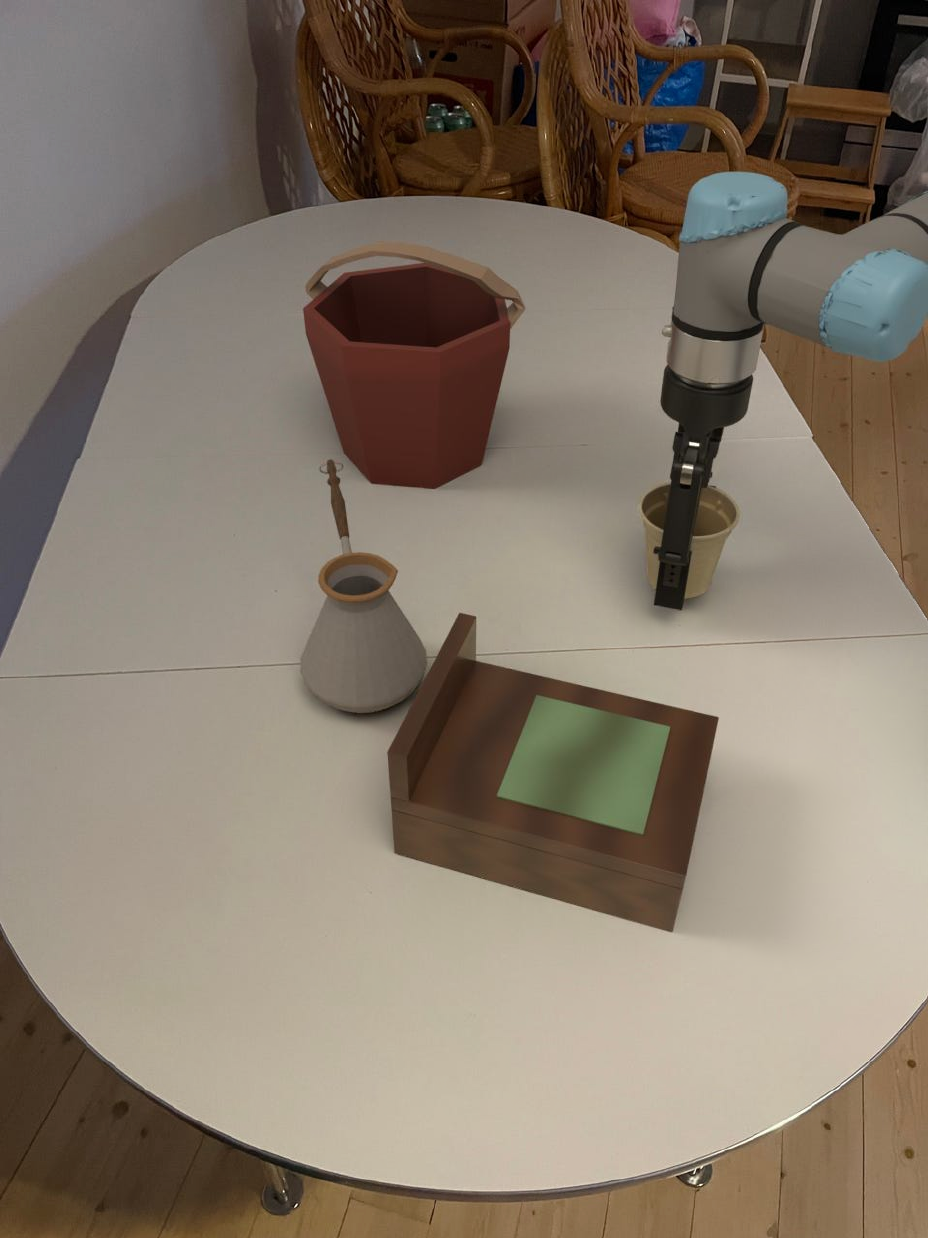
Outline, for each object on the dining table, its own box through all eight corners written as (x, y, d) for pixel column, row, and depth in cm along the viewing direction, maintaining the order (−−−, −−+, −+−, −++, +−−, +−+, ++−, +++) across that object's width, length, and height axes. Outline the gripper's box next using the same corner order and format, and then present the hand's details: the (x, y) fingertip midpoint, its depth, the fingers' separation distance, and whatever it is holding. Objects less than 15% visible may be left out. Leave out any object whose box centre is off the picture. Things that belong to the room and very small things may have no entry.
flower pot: (610, 578, 104) (617, 506, 98) (671, 540, 109) (681, 469, 103) (684, 623, 99) (696, 550, 93) (745, 581, 103) (760, 509, 98)
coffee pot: (439, 717, 93) (436, 587, 83) (310, 739, 91) (292, 609, 81) (396, 571, 109) (390, 447, 99) (286, 587, 107) (268, 462, 97)
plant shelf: (705, 773, 88) (729, 672, 80) (672, 932, 77) (696, 832, 69) (459, 713, 93) (459, 612, 85) (394, 853, 82) (386, 752, 74)
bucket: (548, 442, 127) (561, 240, 111) (444, 532, 114) (441, 316, 97) (388, 387, 138) (378, 194, 121) (276, 463, 124) (247, 257, 107)
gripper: (685, 312, 97) (658, 512, 112) (641, 421, 82) (616, 637, 97) (767, 322, 95) (729, 525, 110) (737, 436, 80) (697, 654, 95)
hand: (676, 577), depth 103 cm, fingers closed on flower pot, 8 cm apart
